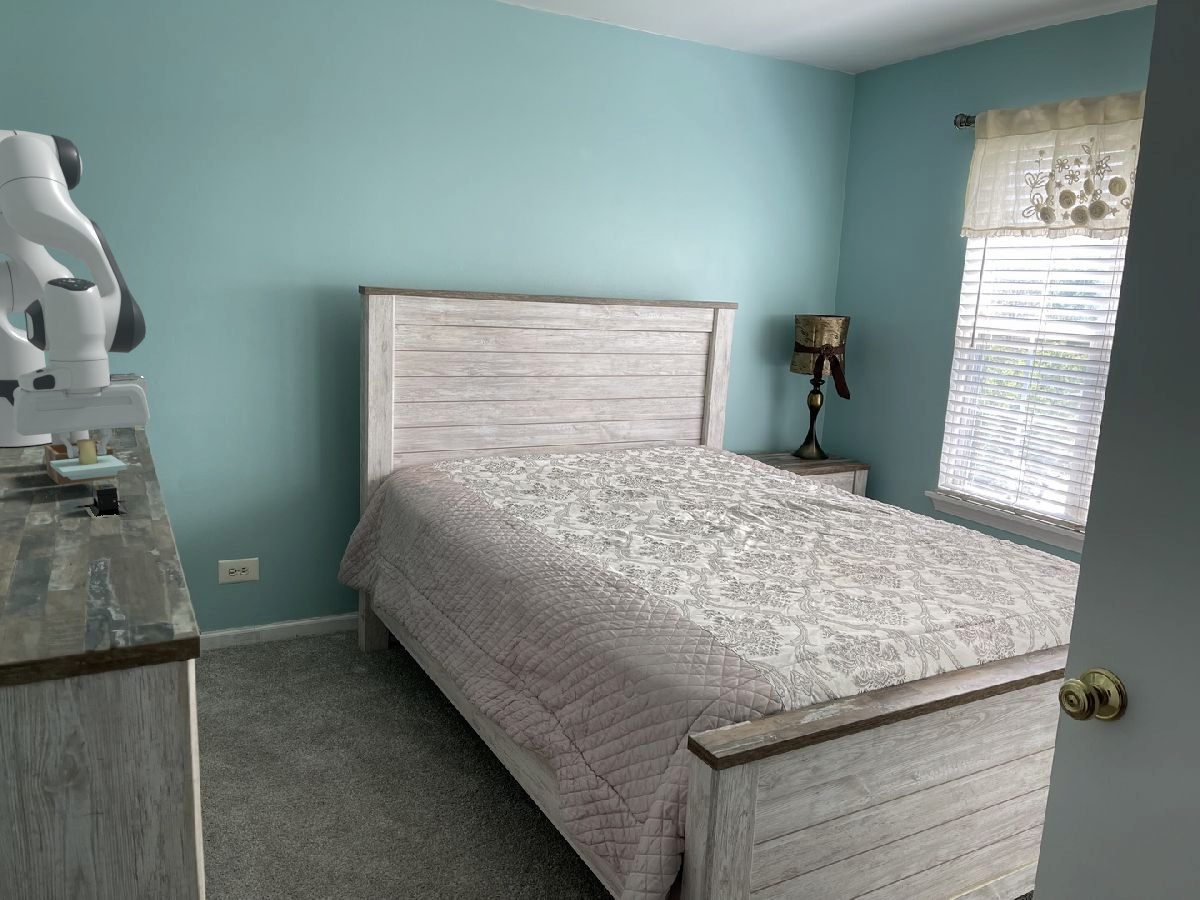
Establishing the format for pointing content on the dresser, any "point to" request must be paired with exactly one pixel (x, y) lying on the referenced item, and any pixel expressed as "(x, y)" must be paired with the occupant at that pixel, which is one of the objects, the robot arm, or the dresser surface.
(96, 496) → the black stepped block
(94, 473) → the lid
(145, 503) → the dresser surface
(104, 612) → the dresser surface
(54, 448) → the box
